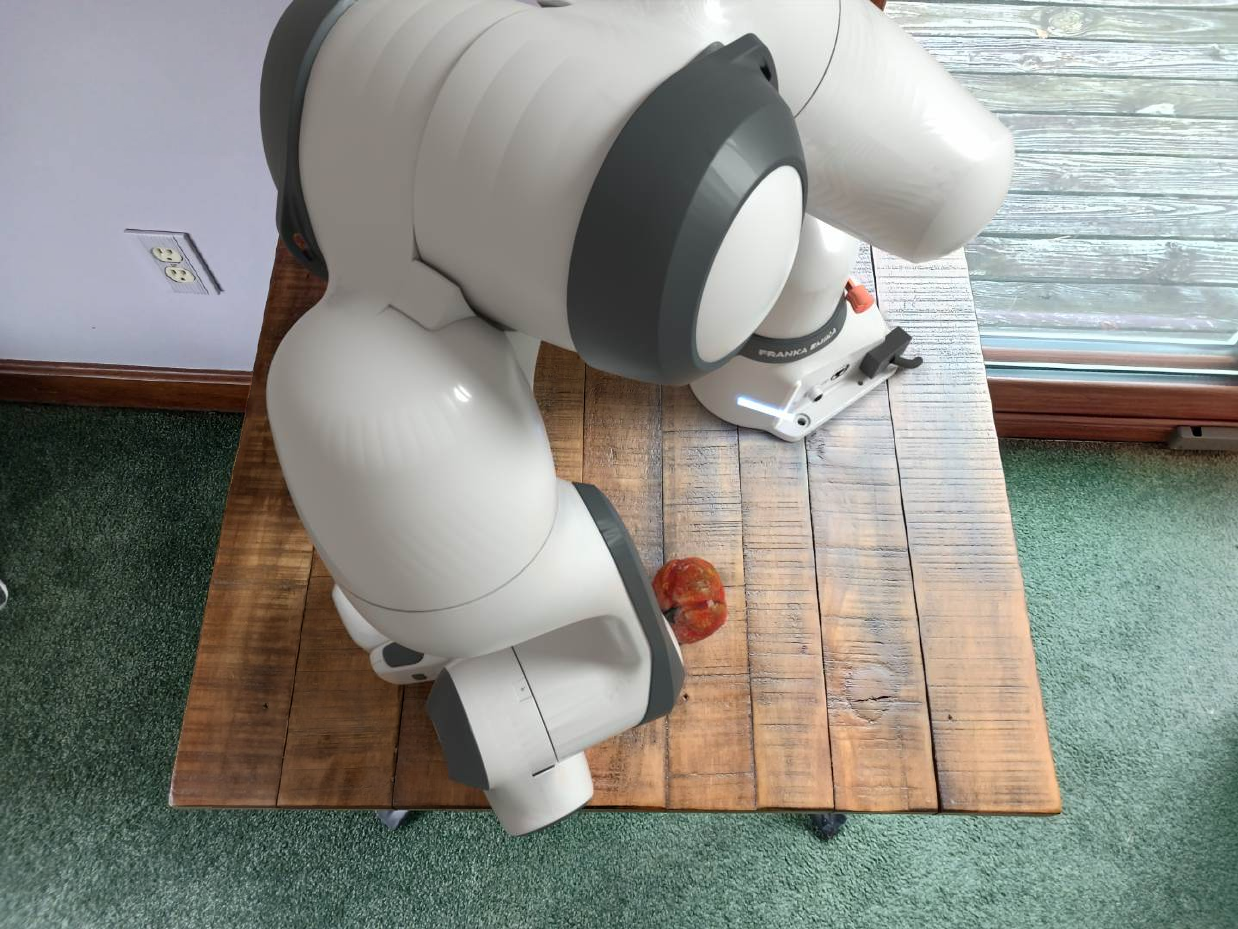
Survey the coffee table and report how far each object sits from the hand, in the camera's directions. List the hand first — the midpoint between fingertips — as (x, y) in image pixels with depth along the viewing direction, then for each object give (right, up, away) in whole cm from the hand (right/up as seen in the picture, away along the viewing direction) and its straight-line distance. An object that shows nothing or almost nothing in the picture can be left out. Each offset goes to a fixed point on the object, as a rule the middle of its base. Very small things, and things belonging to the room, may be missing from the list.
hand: (424, 496), depth 73 cm
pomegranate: (+24, -10, +2) cm, 26 cm away
